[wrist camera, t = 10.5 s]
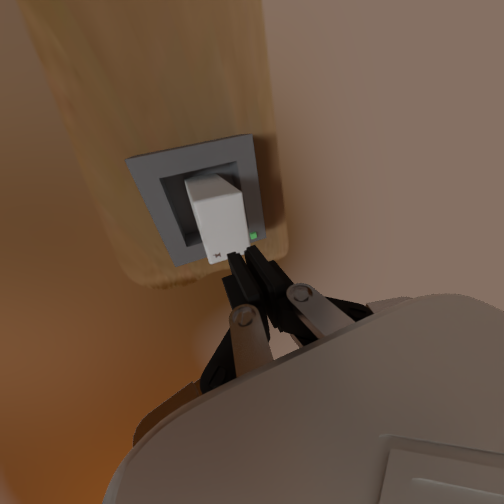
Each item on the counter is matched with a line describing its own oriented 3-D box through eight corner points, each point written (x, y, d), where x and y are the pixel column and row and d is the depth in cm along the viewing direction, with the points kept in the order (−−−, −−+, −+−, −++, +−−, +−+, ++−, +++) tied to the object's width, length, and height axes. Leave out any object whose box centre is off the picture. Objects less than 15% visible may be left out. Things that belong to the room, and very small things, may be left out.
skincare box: (224, 214, 29) (252, 254, 19) (195, 221, 28) (209, 267, 18) (216, 170, 25) (243, 191, 16) (182, 176, 24) (190, 202, 15)
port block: (132, 156, 22) (123, 160, 18) (240, 134, 25) (253, 133, 21) (175, 251, 29) (175, 269, 25) (255, 226, 32) (267, 239, 28)
